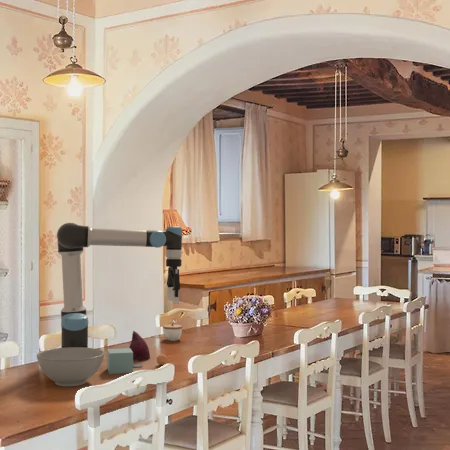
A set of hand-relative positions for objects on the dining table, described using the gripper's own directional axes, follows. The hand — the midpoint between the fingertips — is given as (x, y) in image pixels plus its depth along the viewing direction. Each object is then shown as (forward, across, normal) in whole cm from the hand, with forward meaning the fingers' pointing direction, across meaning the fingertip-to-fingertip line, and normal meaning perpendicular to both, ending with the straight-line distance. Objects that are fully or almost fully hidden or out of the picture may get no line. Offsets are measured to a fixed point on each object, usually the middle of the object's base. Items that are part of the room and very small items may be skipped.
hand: (173, 302), depth 333 cm
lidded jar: (+27, +47, -10) cm, 55 cm away
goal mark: (+27, -16, +20) cm, 37 cm away
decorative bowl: (+27, -41, +50) cm, 71 cm away
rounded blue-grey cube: (+27, -23, +28) cm, 45 cm away
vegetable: (+27, +1, +16) cm, 31 cm away
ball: (+24, -17, +8) cm, 31 cm away
